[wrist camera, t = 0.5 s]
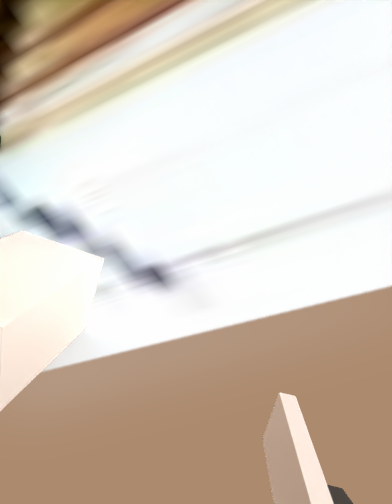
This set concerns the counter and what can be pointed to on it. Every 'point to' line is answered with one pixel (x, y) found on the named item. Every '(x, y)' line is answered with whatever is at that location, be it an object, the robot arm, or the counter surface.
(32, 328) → the milk
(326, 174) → the counter surface
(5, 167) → the counter surface
